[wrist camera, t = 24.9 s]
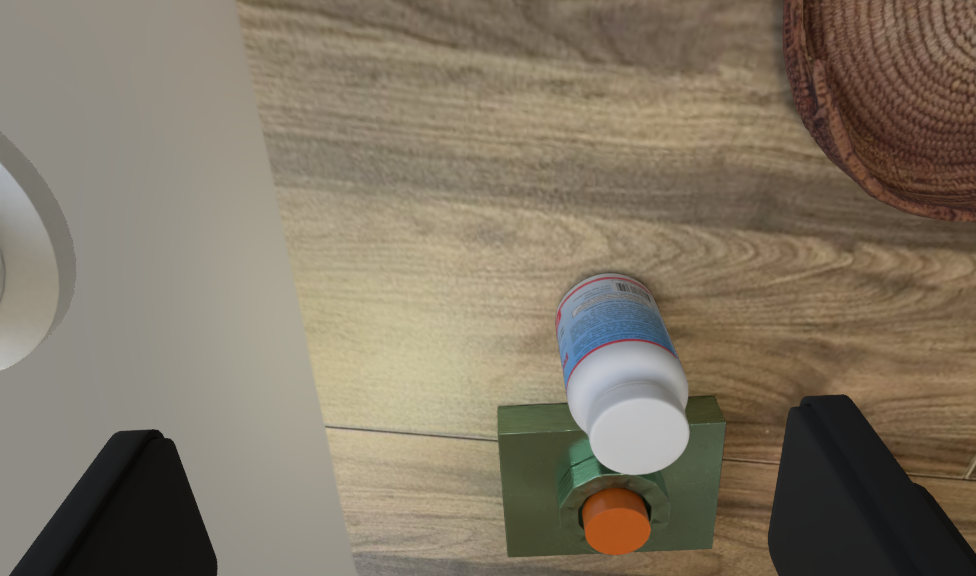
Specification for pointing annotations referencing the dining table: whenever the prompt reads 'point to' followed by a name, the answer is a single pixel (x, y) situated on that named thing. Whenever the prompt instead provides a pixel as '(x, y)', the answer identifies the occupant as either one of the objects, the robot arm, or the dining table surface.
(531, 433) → the green button base
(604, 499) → the button
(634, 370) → the pill bottle
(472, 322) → the dining table surface
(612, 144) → the dining table surface
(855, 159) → the basket
